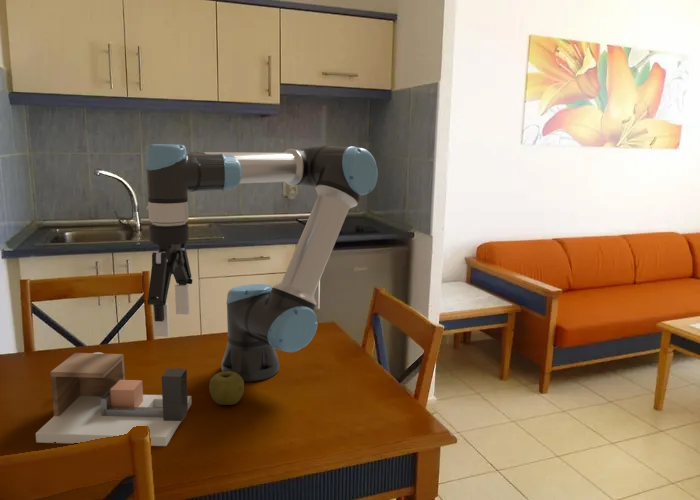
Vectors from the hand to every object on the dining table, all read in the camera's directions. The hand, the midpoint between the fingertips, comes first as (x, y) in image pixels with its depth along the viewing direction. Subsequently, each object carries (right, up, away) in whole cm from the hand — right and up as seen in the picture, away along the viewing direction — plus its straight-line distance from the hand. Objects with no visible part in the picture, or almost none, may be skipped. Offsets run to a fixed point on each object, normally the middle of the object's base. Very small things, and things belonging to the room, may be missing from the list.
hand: (172, 324), depth 115 cm
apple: (+8, -21, +15) cm, 27 cm away
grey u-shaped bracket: (-7, -20, +6) cm, 22 cm away
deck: (-13, -22, +5) cm, 26 cm away
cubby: (-20, -19, +8) cm, 29 cm away
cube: (-13, -19, +8) cm, 24 cm away
